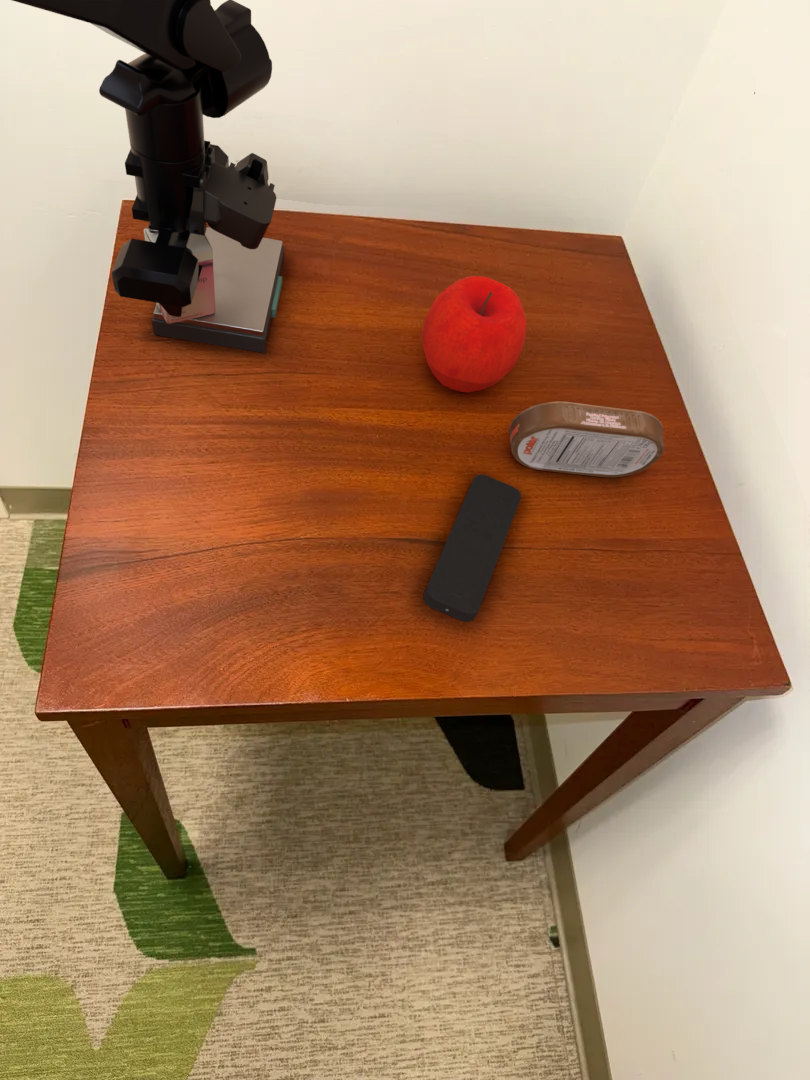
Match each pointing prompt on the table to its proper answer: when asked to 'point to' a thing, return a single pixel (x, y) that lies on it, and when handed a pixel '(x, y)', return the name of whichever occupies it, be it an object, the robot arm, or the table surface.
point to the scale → (235, 296)
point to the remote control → (472, 548)
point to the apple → (473, 333)
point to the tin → (586, 439)
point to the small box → (205, 287)
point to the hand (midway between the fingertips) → (182, 292)
